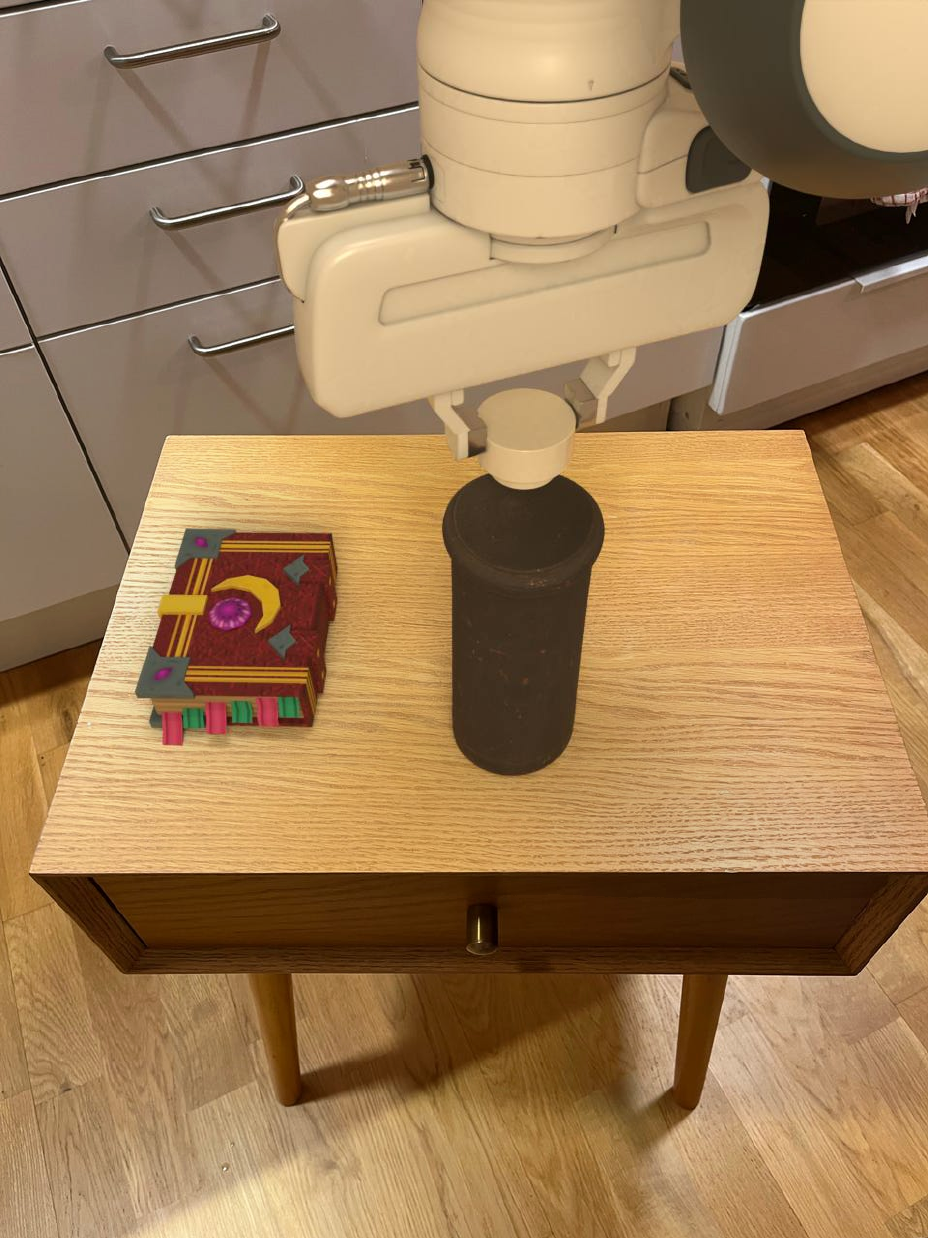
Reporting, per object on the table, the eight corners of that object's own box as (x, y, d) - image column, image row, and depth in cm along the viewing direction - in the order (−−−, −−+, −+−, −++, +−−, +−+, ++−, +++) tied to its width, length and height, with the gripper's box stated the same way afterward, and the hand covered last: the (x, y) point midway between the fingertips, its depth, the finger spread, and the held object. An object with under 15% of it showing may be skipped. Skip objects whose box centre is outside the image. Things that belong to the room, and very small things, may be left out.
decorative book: (342, 571, 75) (334, 524, 71) (315, 747, 64) (304, 704, 60) (197, 569, 75) (182, 523, 71) (147, 744, 65) (125, 701, 61)
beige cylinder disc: (590, 461, 48) (596, 412, 46) (533, 513, 46) (536, 465, 43) (513, 423, 50) (515, 375, 48) (455, 472, 48) (454, 423, 45)
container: (596, 697, 66) (630, 478, 51) (548, 802, 61) (570, 593, 46) (482, 656, 69) (482, 436, 54) (427, 754, 64) (409, 540, 48)
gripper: (286, 231, 31) (335, 533, 42) (820, 125, 36) (743, 422, 46) (243, 150, 35) (298, 446, 46) (731, 64, 40) (679, 352, 50)
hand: (526, 434), depth 46 cm, fingers closed on beige cylinder disc, 5 cm apart
